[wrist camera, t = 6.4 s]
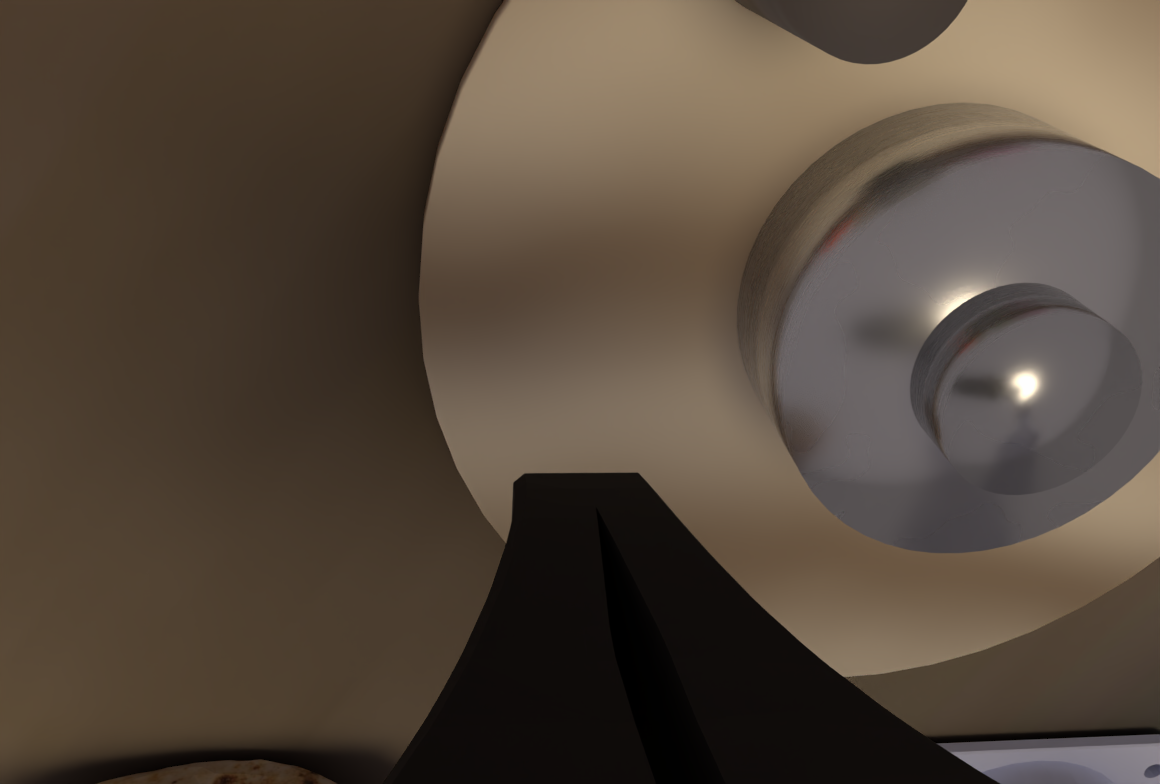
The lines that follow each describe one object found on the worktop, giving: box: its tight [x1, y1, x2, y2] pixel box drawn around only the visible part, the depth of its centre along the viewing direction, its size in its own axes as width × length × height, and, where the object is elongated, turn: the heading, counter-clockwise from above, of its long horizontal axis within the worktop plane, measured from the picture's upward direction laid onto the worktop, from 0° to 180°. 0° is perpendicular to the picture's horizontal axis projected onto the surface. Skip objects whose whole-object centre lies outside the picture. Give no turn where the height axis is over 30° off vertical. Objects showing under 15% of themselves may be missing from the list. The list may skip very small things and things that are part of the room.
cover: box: [737, 102, 1160, 553], centre depth 17 cm, size 7×7×4 cm
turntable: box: [419, 0, 1160, 677], centre depth 17 cm, size 18×18×5 cm
